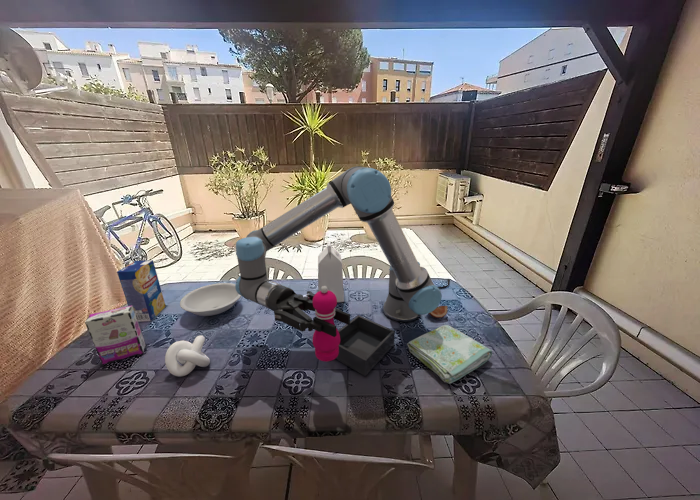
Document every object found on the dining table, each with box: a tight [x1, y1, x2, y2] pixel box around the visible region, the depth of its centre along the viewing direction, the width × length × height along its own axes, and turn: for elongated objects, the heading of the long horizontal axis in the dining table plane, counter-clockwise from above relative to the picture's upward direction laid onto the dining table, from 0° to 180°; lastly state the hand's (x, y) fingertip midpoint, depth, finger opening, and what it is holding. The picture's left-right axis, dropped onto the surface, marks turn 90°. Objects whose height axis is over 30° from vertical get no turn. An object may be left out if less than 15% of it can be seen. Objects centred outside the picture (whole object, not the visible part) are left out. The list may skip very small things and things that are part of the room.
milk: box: [317, 240, 345, 303], centre depth 122 cm, size 12×12×26 cm
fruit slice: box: [428, 305, 449, 319], centre depth 110 cm, size 8×7×5 cm
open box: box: [334, 315, 396, 377], centre depth 92 cm, size 18×16×6 cm
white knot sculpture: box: [164, 334, 211, 378], centre depth 85 cm, size 11×12×9 cm
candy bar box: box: [84, 305, 147, 365], centre depth 88 cm, size 11×5×16 cm, turn 117°
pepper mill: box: [312, 286, 340, 363], centre depth 68 cm, size 7×7×20 cm
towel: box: [406, 324, 493, 385], centre depth 89 cm, size 18×21×5 cm
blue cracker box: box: [116, 259, 167, 323], centre depth 110 cm, size 7×11×22 cm, turn 7°
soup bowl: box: [179, 282, 242, 317], centre depth 116 cm, size 24×24×7 cm
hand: (342, 325), depth 65 cm, fingers closed on pepper mill, 5 cm apart
